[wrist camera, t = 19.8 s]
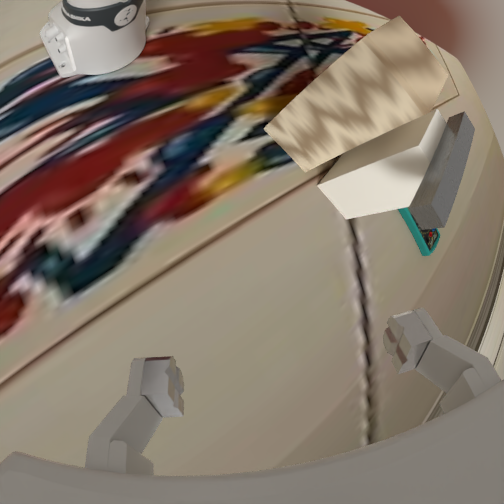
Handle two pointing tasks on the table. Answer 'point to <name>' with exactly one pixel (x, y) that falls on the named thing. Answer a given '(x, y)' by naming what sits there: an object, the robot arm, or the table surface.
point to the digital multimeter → (421, 233)
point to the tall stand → (360, 96)
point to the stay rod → (443, 174)
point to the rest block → (384, 168)
